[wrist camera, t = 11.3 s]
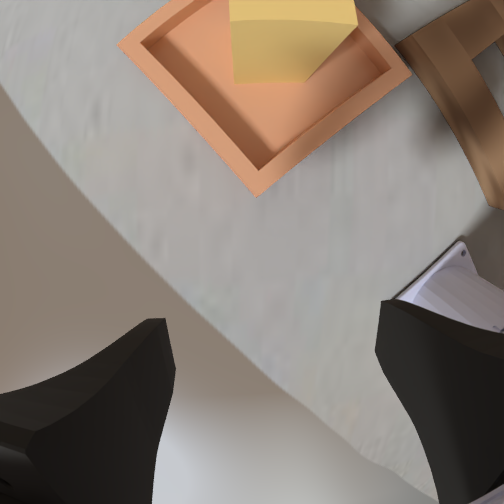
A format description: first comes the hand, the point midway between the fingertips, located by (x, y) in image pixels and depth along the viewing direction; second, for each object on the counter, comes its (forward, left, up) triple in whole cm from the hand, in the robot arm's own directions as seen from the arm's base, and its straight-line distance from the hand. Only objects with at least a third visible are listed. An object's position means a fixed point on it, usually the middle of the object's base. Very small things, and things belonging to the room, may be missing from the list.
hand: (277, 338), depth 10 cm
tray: (+9, -8, -10) cm, 16 cm away
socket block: (-2, -23, -10) cm, 25 cm away
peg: (+9, -8, -9) cm, 15 cm away
